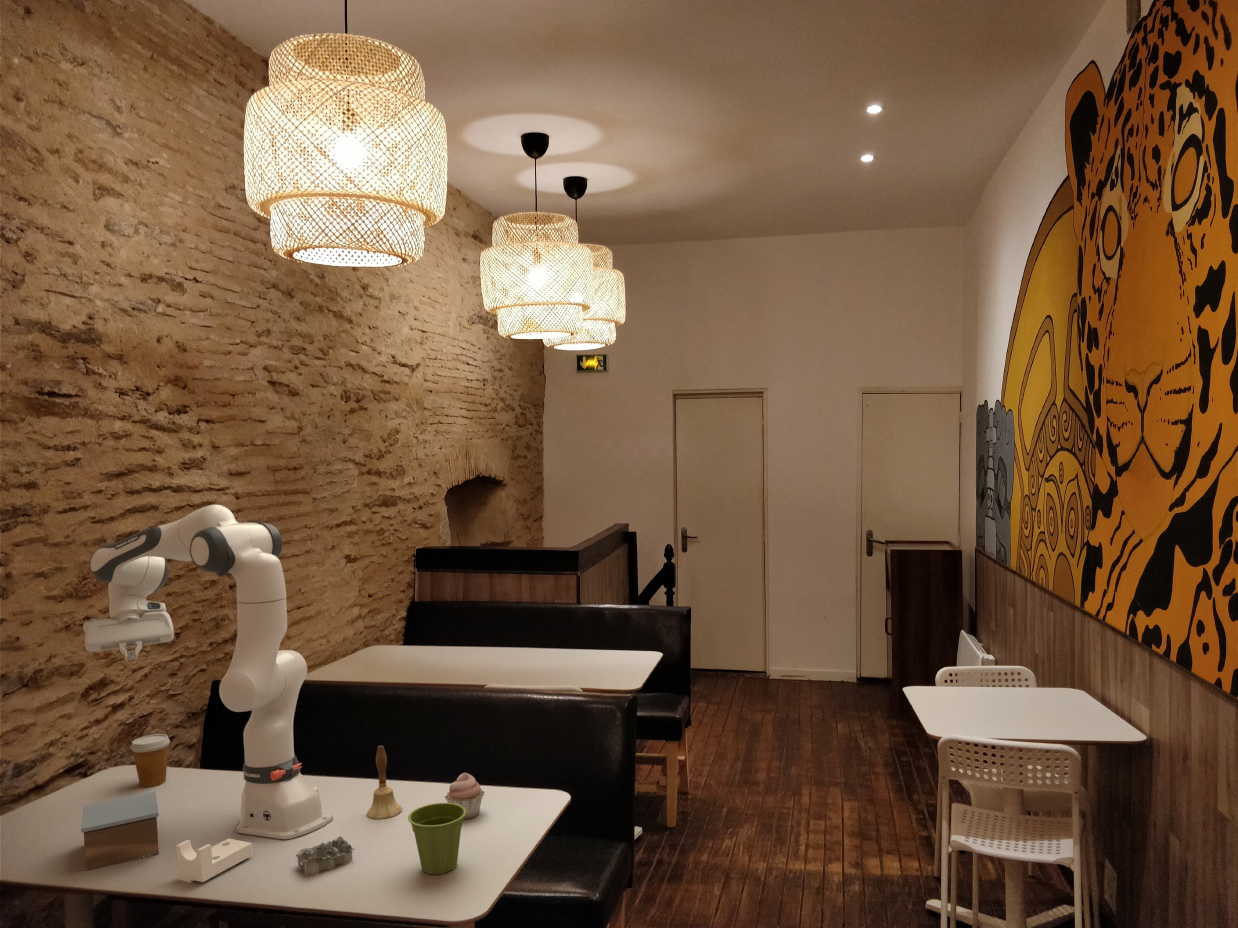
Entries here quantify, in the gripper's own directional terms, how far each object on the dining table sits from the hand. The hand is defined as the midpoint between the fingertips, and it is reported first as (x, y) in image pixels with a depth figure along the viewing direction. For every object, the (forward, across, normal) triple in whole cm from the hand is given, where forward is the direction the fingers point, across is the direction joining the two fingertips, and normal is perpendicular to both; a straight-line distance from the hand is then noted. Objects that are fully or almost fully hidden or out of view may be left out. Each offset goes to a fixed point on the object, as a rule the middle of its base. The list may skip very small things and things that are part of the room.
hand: (131, 658), depth 233 cm
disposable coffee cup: (+15, +3, +38) cm, 41 cm away
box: (+46, -4, +7) cm, 47 cm away
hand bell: (+56, +51, -3) cm, 76 cm away
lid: (+40, -4, +1) cm, 40 cm away
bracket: (+63, +13, -10) cm, 65 cm away
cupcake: (+66, +67, -13) cm, 95 cm away
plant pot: (+82, +54, -29) cm, 102 cm away
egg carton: (+71, +34, -18) cm, 80 cm away
